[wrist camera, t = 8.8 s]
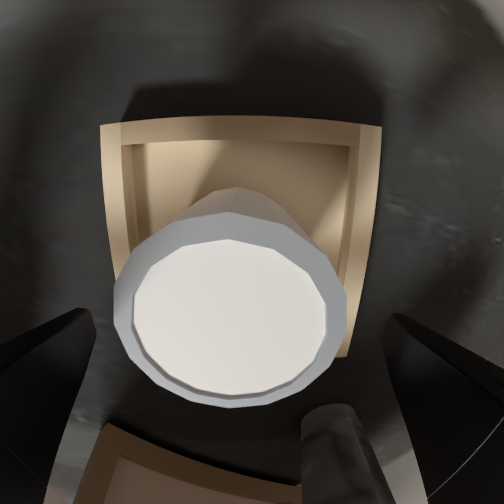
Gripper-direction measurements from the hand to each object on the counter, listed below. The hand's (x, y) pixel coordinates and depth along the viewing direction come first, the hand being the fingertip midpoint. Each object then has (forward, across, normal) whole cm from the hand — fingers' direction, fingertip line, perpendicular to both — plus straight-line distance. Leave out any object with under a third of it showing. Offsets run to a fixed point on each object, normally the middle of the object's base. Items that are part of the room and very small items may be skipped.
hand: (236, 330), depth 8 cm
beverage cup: (+8, -7, +15) cm, 18 cm away
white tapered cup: (+7, 0, 0) cm, 7 cm away
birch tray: (+7, 0, 0) cm, 7 cm away
